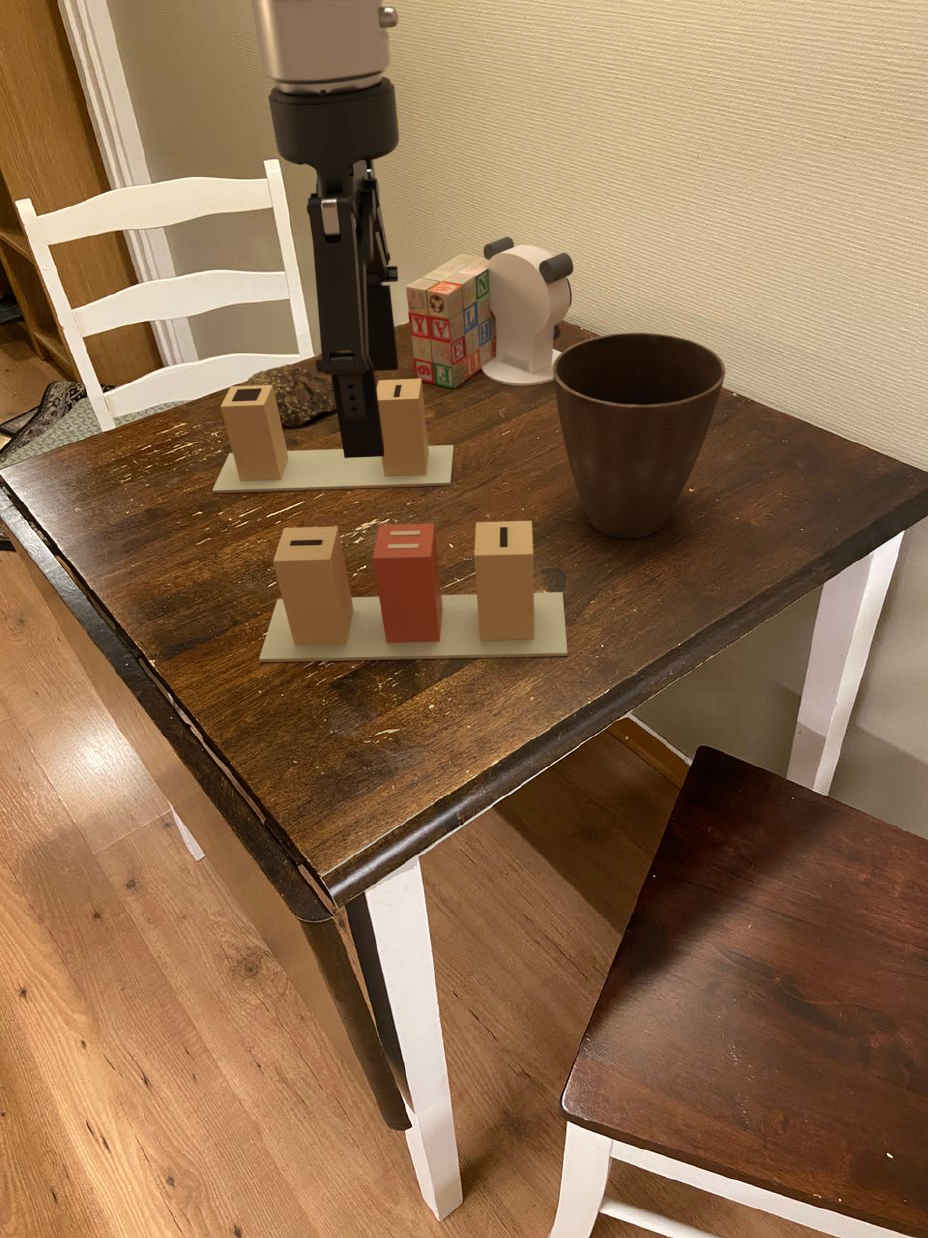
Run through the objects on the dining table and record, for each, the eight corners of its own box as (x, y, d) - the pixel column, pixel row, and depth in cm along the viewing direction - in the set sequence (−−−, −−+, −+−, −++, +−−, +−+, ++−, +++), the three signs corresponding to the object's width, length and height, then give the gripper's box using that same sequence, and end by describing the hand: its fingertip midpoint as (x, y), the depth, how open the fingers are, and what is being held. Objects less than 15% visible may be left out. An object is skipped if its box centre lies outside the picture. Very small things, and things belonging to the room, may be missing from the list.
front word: (259, 662, 75) (234, 574, 69) (278, 602, 81) (256, 516, 75) (567, 656, 73) (569, 565, 67) (562, 595, 79) (564, 506, 73)
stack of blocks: (500, 320, 127) (497, 231, 119) (538, 327, 124) (538, 236, 116) (414, 380, 114) (404, 284, 106) (454, 389, 111) (447, 292, 103)
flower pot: (586, 466, 96) (590, 322, 85) (722, 495, 90) (745, 344, 79) (527, 540, 86) (524, 388, 75) (676, 578, 80) (695, 418, 70)
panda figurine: (590, 364, 114) (594, 245, 105) (530, 395, 109) (529, 272, 99) (523, 340, 121) (521, 226, 112) (464, 368, 116) (456, 251, 106)
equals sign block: (386, 642, 75) (372, 557, 69) (391, 608, 79) (378, 523, 73) (439, 641, 75) (430, 555, 69) (442, 606, 78) (434, 522, 72)
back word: (212, 493, 96) (189, 414, 90) (230, 455, 102) (209, 379, 96) (450, 485, 94) (443, 404, 88) (453, 447, 100) (447, 369, 94)
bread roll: (220, 414, 110) (210, 376, 107) (289, 375, 117) (282, 339, 114) (294, 439, 104) (285, 400, 101) (362, 396, 111) (356, 359, 108)
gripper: (373, 122, 42) (414, 497, 56) (406, 43, 61) (430, 337, 75) (220, 131, 43) (297, 501, 57) (300, 49, 62) (343, 341, 75)
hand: (373, 408), depth 66 cm, fingers open, 13 cm apart
